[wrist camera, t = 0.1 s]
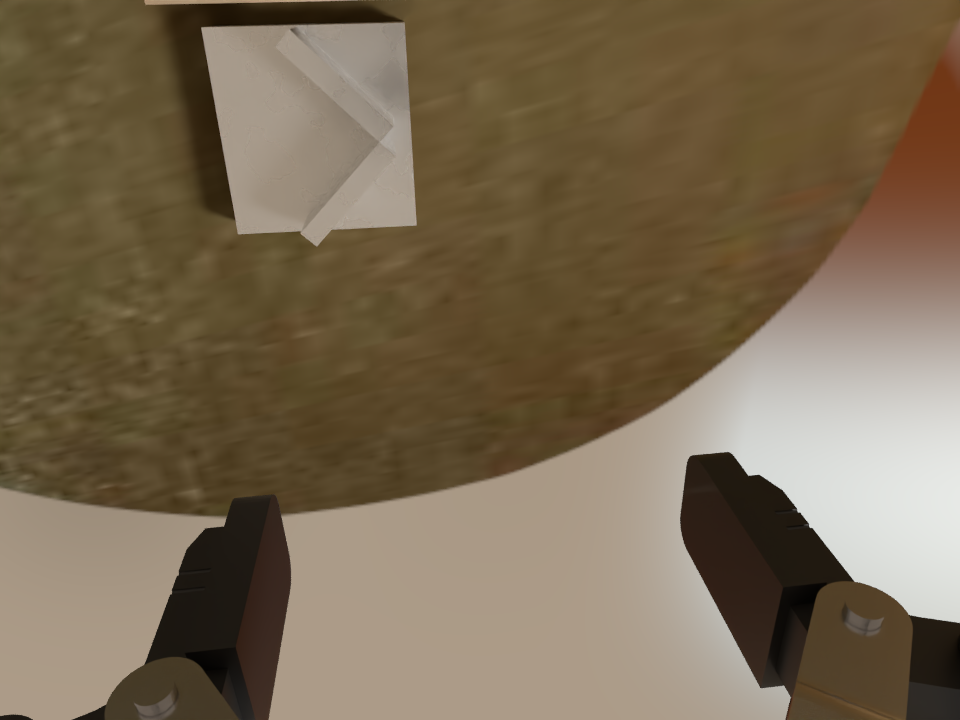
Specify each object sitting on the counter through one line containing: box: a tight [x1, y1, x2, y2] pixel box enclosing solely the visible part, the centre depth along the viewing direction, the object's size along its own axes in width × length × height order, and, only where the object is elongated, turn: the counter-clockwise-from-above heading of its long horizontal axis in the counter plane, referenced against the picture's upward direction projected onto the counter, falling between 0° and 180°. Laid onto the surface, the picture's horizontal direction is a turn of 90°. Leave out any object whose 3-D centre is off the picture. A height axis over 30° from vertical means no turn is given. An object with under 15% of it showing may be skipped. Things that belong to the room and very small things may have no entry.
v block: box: [201, 21, 416, 246], centre depth 36 cm, size 10×10×5 cm
